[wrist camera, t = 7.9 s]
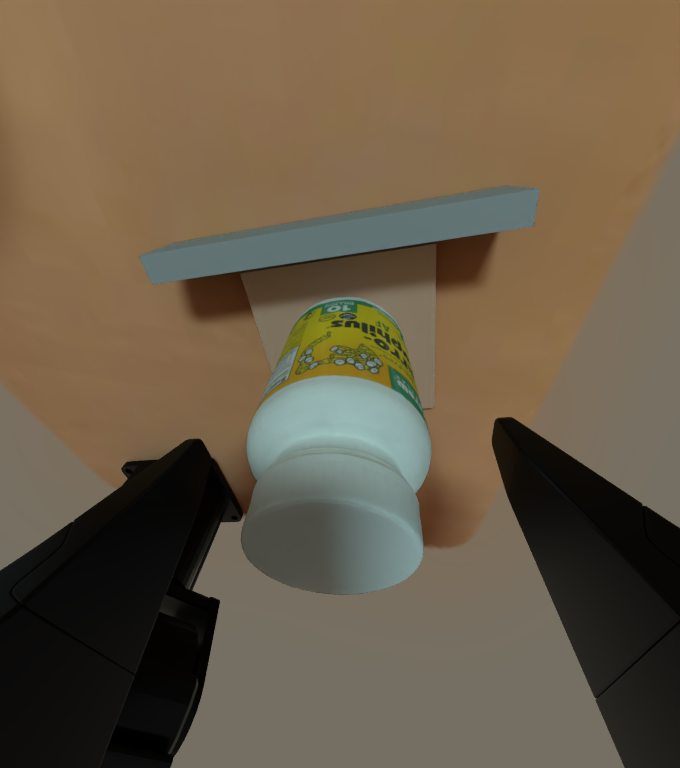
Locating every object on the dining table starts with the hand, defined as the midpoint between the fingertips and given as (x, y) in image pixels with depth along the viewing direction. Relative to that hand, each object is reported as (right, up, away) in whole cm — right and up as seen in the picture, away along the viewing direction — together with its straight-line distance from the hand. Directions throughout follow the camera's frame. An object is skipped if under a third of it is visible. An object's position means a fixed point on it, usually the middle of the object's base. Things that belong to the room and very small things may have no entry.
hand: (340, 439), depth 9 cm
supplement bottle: (0, +3, +5) cm, 6 cm away
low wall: (0, +8, +3) cm, 8 cm away
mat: (0, +4, +5) cm, 7 cm away
